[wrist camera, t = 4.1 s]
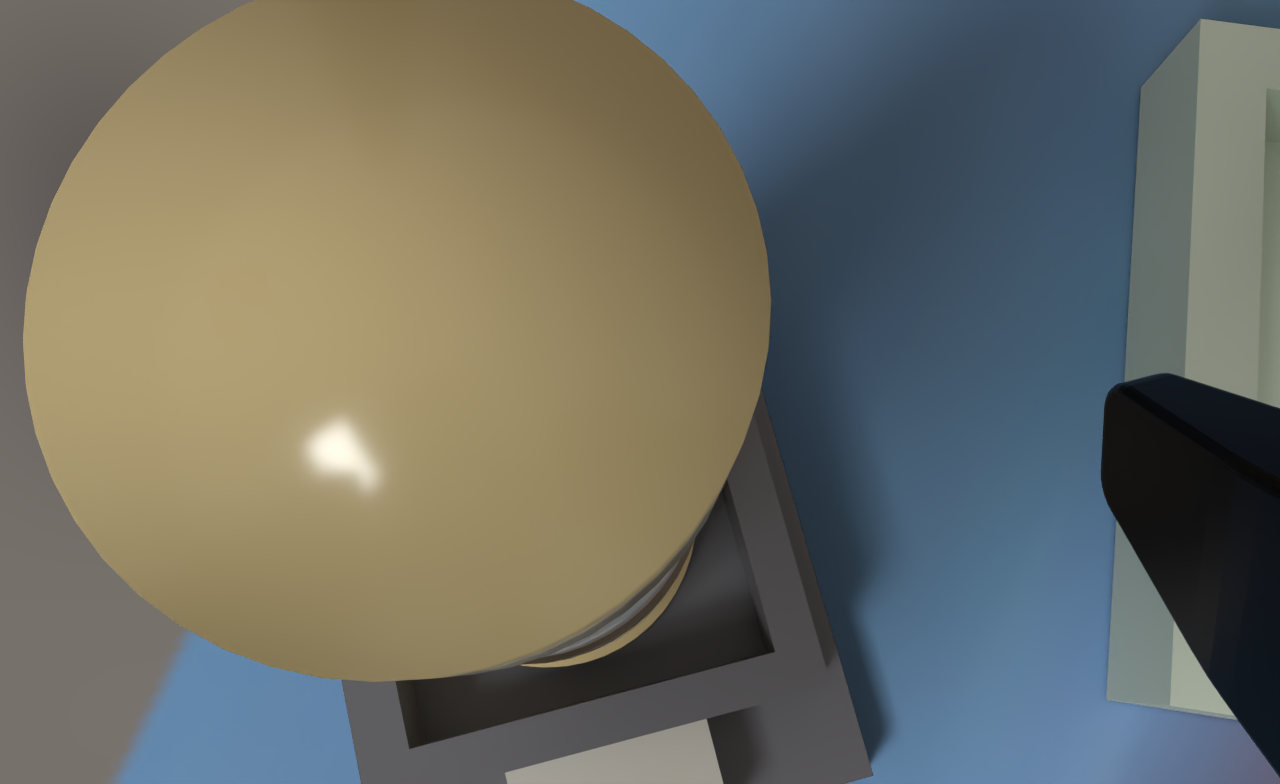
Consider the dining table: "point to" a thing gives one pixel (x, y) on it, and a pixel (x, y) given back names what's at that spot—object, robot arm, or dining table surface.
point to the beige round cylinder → (400, 334)
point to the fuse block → (654, 678)
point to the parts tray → (1199, 293)
